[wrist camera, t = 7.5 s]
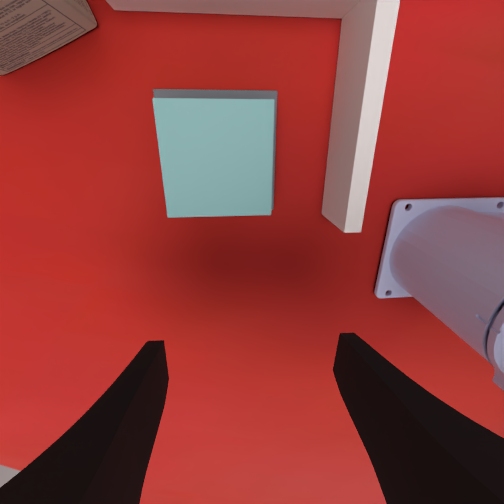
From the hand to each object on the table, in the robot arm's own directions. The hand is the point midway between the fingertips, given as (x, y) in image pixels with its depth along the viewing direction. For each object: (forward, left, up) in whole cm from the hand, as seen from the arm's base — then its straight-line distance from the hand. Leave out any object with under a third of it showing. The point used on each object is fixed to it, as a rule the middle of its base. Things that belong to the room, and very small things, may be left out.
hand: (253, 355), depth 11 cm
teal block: (+1, -7, -9) cm, 12 cm away
